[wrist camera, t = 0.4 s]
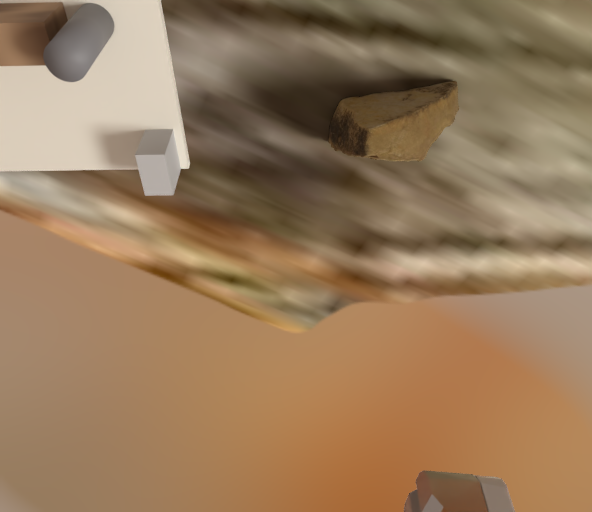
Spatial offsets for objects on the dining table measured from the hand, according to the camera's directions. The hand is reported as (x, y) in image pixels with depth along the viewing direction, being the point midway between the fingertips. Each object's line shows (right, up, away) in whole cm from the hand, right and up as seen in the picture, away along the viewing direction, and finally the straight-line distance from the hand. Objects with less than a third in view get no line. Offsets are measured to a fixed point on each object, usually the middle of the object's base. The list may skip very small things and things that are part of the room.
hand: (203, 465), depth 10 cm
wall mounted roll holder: (-18, +20, +34) cm, 43 cm away
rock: (+10, +16, +37) cm, 41 cm away
